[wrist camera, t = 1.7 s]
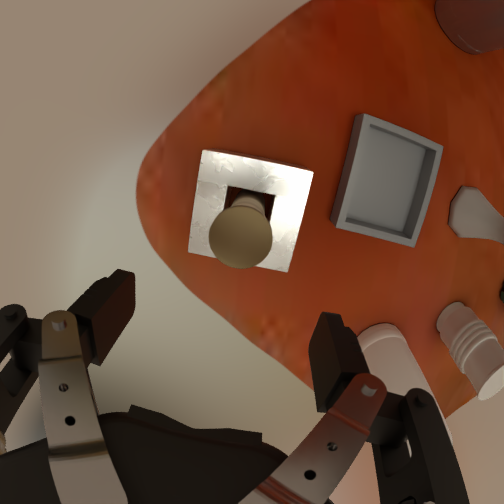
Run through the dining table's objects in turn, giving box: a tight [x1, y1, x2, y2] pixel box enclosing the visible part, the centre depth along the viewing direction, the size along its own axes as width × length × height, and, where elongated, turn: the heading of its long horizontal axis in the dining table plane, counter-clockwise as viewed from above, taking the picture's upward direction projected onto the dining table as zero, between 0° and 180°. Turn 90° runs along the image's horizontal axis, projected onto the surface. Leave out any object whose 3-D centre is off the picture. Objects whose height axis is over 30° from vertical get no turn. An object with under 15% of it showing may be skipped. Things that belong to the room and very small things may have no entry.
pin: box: [208, 189, 273, 269], centre depth 25 cm, size 4×4×12 cm
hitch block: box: [188, 148, 313, 272], centre depth 28 cm, size 10×10×5 cm
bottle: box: [357, 323, 453, 457], centre depth 23 cm, size 8×8×30 cm
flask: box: [448, 186, 504, 245], centre depth 25 cm, size 7×7×10 cm
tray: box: [330, 114, 443, 247], centre depth 27 cm, size 12×10×3 cm
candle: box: [437, 302, 504, 400], centre depth 28 cm, size 7×7×15 cm
